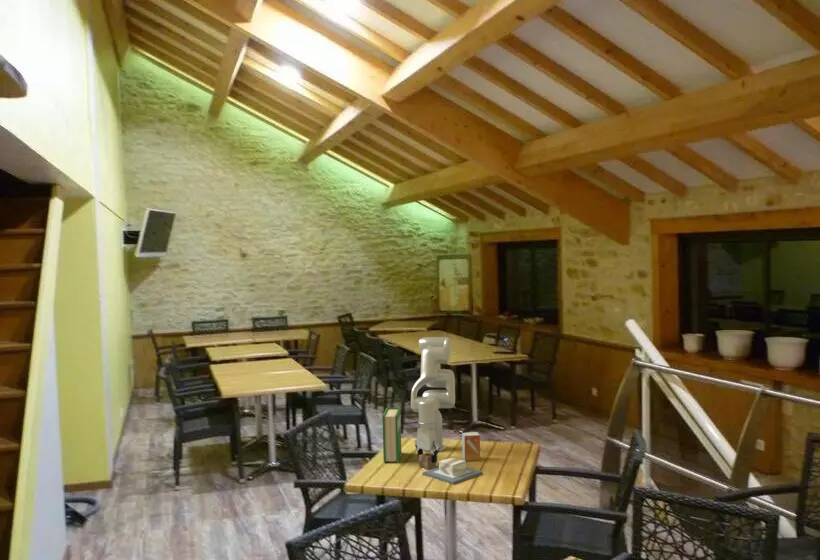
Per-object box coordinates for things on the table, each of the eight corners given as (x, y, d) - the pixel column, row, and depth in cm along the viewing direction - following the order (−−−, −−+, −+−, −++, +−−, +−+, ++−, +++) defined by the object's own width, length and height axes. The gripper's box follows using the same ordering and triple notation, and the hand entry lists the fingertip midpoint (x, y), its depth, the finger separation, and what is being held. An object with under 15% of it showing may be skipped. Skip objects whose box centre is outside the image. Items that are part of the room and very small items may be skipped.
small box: (464, 461, 349) (464, 435, 348) (462, 457, 355) (461, 432, 355) (480, 460, 350) (480, 434, 349) (477, 456, 356) (477, 431, 356)
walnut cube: (418, 467, 342) (418, 455, 341) (427, 464, 346) (427, 452, 345) (427, 469, 337) (427, 457, 337) (436, 467, 341) (436, 455, 341)
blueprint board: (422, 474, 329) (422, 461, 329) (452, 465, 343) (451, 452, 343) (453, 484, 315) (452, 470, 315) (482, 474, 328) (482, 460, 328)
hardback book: (398, 463, 349) (397, 415, 348) (383, 463, 350) (382, 415, 349) (401, 452, 367) (400, 407, 366) (387, 452, 367) (386, 407, 366)
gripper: (409, 424, 344) (409, 458, 344) (433, 429, 331) (434, 465, 332) (420, 421, 349) (420, 455, 350) (444, 427, 337) (445, 462, 337)
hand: (427, 460), depth 341 cm, fingers open, 9 cm apart
